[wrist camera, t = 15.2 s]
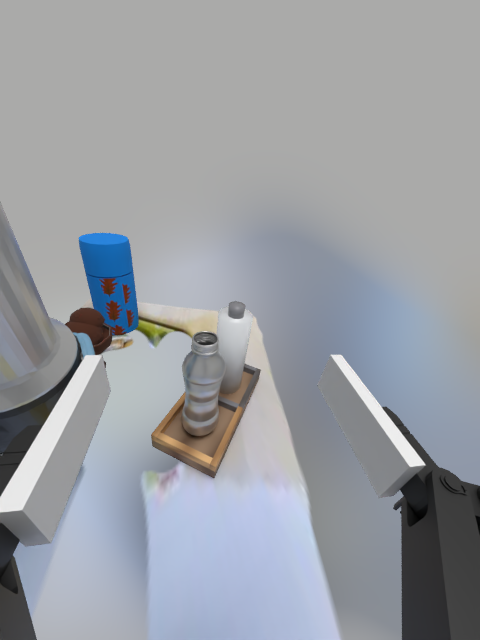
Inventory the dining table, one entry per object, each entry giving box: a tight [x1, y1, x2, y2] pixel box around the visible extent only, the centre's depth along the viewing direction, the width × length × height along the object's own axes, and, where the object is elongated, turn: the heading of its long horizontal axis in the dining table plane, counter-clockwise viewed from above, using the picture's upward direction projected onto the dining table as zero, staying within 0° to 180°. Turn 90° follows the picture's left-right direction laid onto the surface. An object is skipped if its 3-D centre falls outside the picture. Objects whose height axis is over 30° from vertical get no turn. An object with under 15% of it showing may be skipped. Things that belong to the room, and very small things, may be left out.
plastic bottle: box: [181, 331, 226, 436], centre depth 38 cm, size 6×7×20 cm
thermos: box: [79, 233, 138, 335], centre depth 63 cm, size 11×11×25 cm
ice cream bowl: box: [65, 308, 112, 368], centre depth 50 cm, size 11×11×15 cm
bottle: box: [217, 301, 253, 394], centre depth 48 cm, size 6×6×20 cm
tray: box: [151, 364, 261, 478], centre depth 48 cm, size 12×24×4 cm, turn 158°
